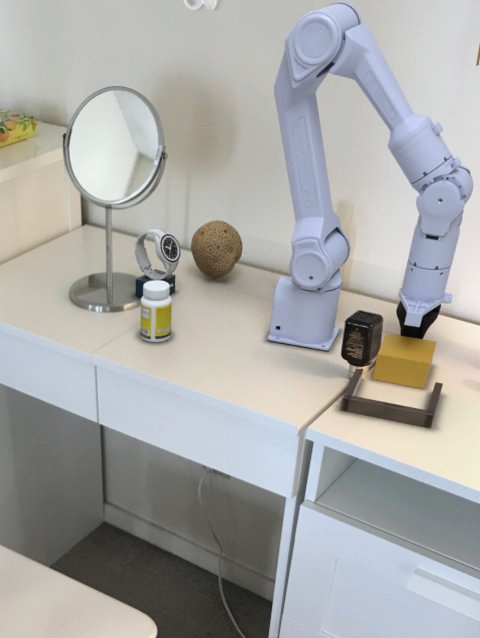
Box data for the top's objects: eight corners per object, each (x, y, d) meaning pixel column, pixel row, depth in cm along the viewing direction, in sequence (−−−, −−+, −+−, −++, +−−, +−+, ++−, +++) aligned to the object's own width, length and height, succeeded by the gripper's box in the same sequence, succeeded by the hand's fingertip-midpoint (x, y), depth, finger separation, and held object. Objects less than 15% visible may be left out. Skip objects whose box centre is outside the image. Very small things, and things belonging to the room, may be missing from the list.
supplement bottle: (173, 331, 129) (175, 280, 124) (167, 344, 126) (169, 292, 121) (144, 328, 130) (144, 277, 125) (137, 341, 127) (137, 290, 122)
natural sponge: (208, 263, 151) (212, 209, 145) (249, 275, 146) (255, 219, 140) (179, 279, 146) (182, 223, 140) (221, 291, 141) (226, 234, 135)
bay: (340, 410, 109) (342, 397, 108) (354, 379, 116) (356, 367, 115) (430, 428, 105) (434, 415, 104) (439, 396, 112) (443, 383, 111)
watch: (164, 305, 137) (166, 241, 130) (127, 293, 141) (127, 230, 134) (184, 295, 140) (187, 231, 133) (147, 283, 144) (148, 221, 138)
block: (372, 379, 116) (377, 354, 113) (381, 358, 121) (386, 333, 118) (423, 388, 113) (430, 363, 111) (430, 366, 118) (436, 341, 116)
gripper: (454, 286, 105) (430, 379, 113) (466, 247, 115) (443, 335, 124) (398, 278, 107) (378, 369, 116) (414, 241, 118) (395, 328, 126)
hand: (408, 351), depth 120 cm, fingers closed
